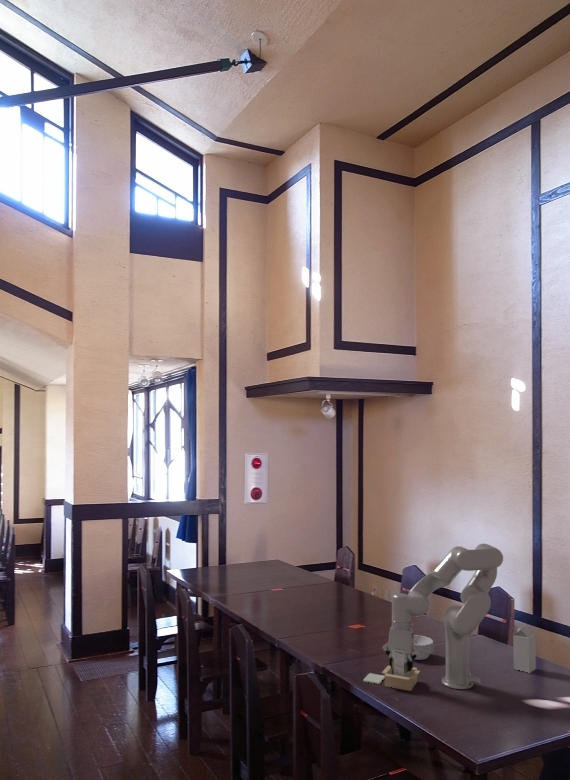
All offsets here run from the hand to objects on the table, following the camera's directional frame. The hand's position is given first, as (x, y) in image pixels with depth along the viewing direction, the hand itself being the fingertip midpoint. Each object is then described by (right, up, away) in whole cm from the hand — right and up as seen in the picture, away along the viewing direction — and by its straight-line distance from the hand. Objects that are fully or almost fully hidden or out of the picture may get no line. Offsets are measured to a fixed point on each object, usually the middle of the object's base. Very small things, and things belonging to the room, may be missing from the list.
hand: (401, 668), depth 262 cm
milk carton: (+58, -9, +18) cm, 62 cm away
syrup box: (0, -6, -1) cm, 6 cm away
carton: (0, -6, -1) cm, 6 cm away
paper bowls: (+14, -10, +34) cm, 38 cm away
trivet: (-11, -7, +4) cm, 13 cm away
